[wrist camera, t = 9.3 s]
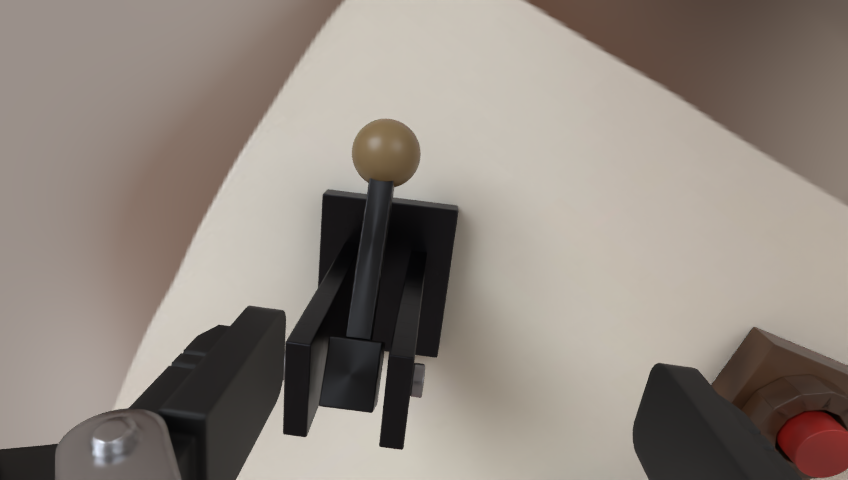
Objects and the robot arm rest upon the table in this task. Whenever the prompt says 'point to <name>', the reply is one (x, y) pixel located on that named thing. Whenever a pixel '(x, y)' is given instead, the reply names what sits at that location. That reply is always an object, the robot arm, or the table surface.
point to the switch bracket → (396, 311)
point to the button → (815, 444)
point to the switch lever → (369, 266)
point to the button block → (782, 384)
